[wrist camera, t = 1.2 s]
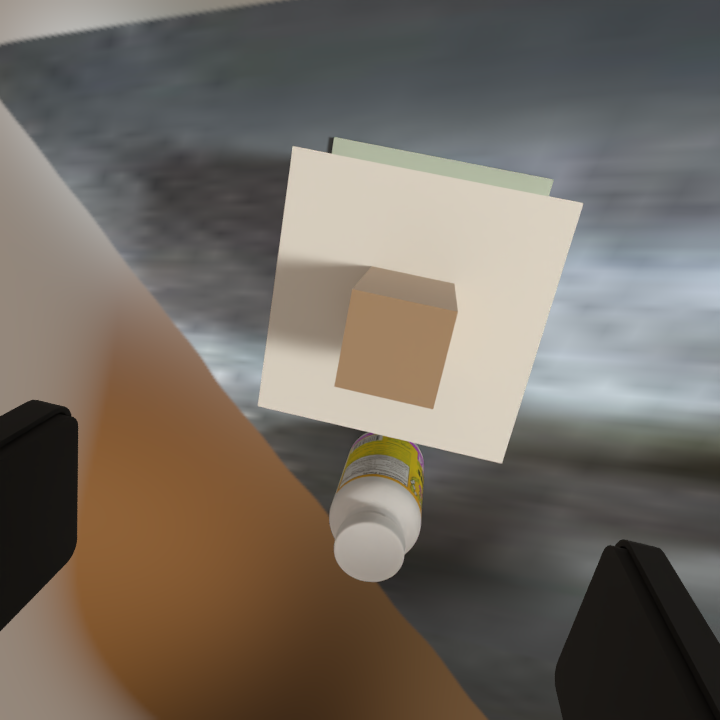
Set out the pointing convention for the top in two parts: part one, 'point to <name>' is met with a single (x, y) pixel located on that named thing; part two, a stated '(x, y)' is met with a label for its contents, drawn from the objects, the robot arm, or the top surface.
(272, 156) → the top surface
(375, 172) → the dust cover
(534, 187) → the mat
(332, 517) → the supplement bottle
